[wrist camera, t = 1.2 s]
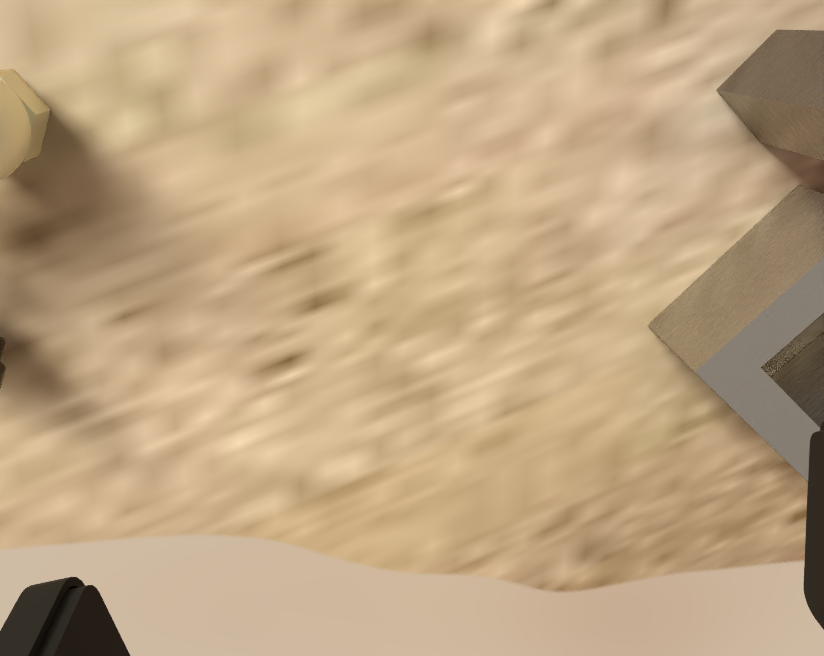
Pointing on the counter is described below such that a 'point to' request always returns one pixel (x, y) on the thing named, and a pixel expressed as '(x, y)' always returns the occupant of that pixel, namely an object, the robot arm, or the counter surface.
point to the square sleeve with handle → (761, 325)
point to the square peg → (782, 92)
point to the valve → (18, 132)
